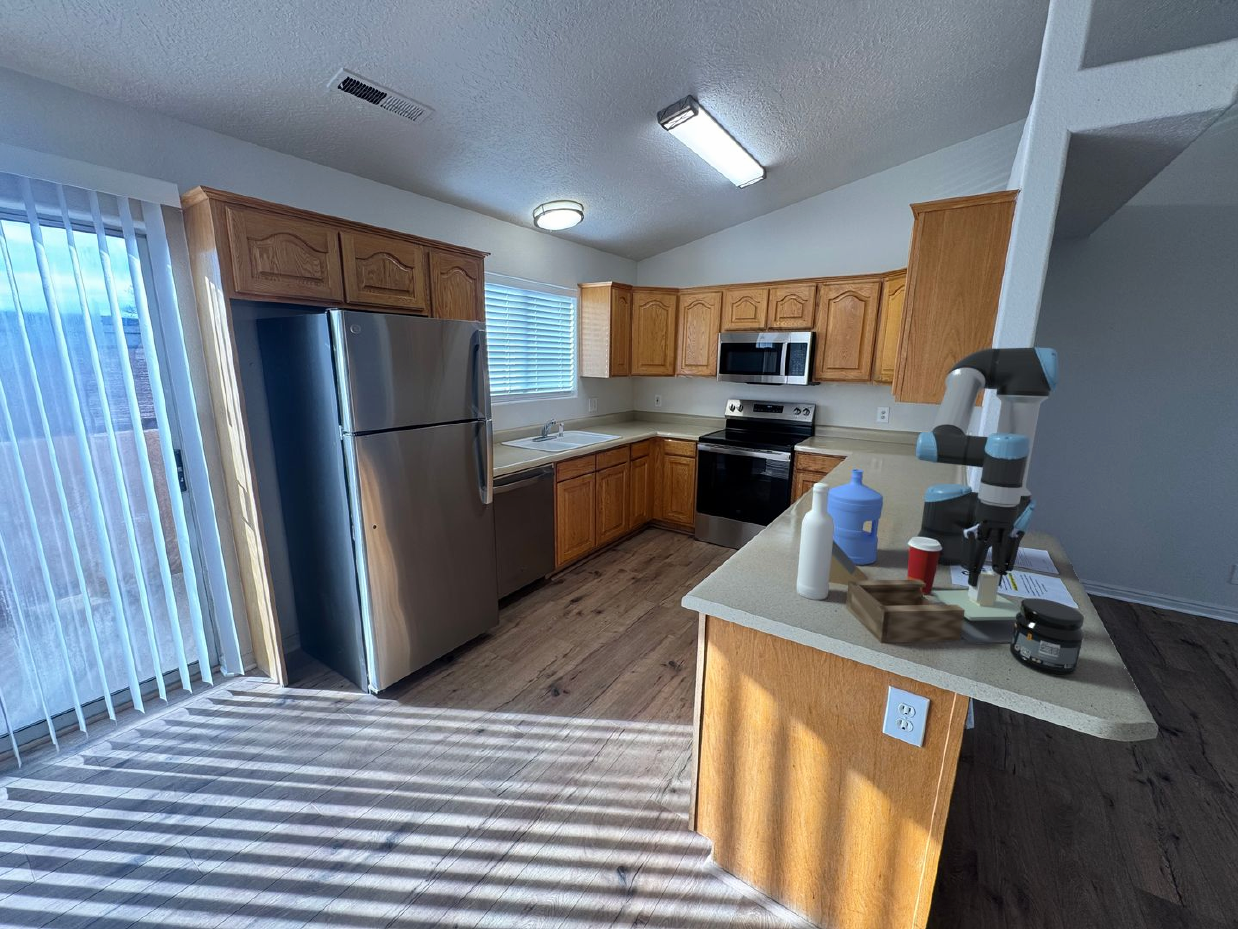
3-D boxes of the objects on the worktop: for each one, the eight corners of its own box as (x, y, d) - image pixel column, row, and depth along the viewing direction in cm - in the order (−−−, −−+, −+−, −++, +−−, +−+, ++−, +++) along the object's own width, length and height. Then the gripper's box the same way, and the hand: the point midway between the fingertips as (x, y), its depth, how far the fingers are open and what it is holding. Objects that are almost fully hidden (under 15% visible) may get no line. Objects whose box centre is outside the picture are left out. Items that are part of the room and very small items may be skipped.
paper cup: (931, 585, 134) (938, 538, 132) (939, 598, 127) (946, 547, 124) (899, 581, 137) (905, 534, 134) (905, 593, 130) (911, 544, 127)
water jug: (822, 561, 151) (830, 473, 145) (822, 544, 165) (829, 463, 160) (878, 569, 145) (889, 478, 140) (873, 551, 159) (883, 467, 154)
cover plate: (989, 593, 121) (994, 563, 120) (1035, 619, 108) (1041, 587, 107) (931, 593, 121) (935, 564, 119) (970, 620, 108) (975, 587, 106)
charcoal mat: (984, 603, 125) (984, 601, 125) (1047, 642, 107) (1047, 640, 107) (915, 604, 124) (916, 602, 124) (968, 644, 106) (968, 642, 106)
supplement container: (1043, 647, 105) (1053, 596, 103) (1091, 678, 95) (1103, 622, 92) (995, 648, 105) (1005, 596, 102) (1038, 679, 95) (1050, 622, 92)
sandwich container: (867, 590, 132) (873, 538, 129) (807, 578, 139) (811, 528, 136) (868, 578, 139) (874, 528, 136) (811, 567, 147) (816, 520, 144)
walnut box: (915, 606, 123) (919, 579, 121) (959, 640, 108) (964, 610, 106) (845, 608, 122) (848, 580, 120) (880, 642, 107) (884, 611, 105)
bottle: (834, 595, 128) (845, 485, 122) (815, 603, 124) (825, 489, 118) (808, 584, 135) (817, 479, 129) (789, 591, 131) (798, 483, 125)
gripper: (1018, 497, 114) (1002, 590, 118) (950, 498, 113) (937, 591, 118) (1047, 506, 106) (1028, 605, 111) (975, 507, 106) (959, 606, 110)
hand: (981, 598), depth 114 cm, fingers closed on cover plate, 3 cm apart
